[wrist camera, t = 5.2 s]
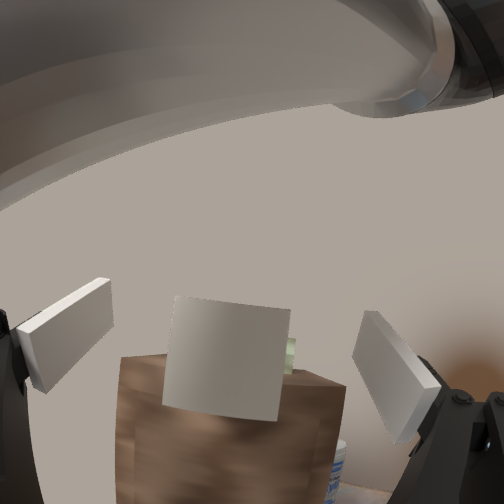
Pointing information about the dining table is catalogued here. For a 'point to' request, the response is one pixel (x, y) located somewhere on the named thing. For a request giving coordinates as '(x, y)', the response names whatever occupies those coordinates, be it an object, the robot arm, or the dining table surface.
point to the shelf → (224, 443)
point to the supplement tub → (336, 472)
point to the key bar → (226, 358)
